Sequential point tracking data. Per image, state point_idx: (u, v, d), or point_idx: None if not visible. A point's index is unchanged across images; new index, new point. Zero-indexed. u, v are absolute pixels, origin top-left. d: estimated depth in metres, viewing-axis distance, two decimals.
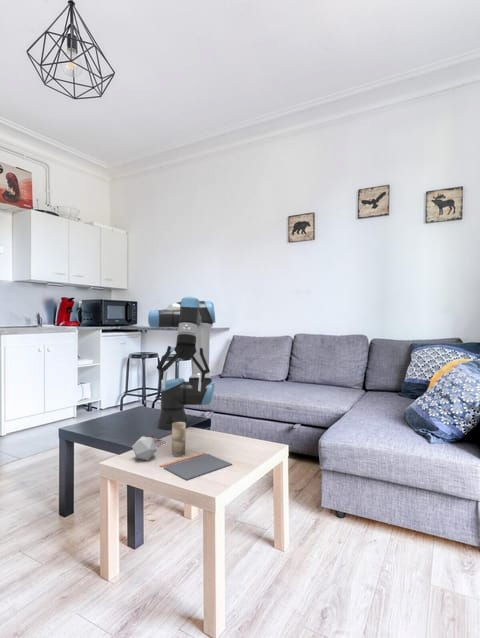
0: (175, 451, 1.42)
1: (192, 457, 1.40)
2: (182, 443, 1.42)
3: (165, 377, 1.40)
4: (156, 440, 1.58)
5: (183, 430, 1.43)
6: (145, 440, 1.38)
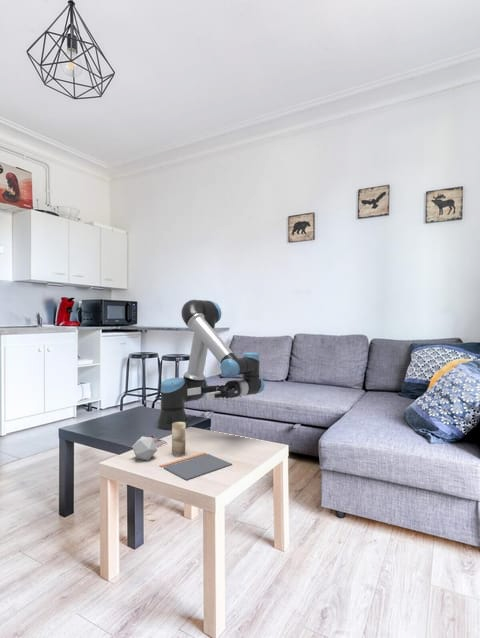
0: (175, 451, 1.42)
1: (192, 457, 1.40)
2: (182, 443, 1.42)
3: None
4: (156, 440, 1.58)
5: (183, 430, 1.43)
6: (145, 440, 1.38)
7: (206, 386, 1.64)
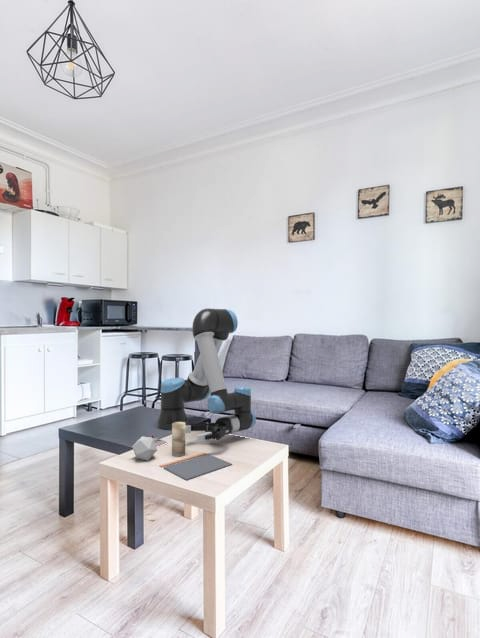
0: (175, 451, 1.42)
1: (192, 457, 1.40)
2: (182, 443, 1.43)
3: None
4: (156, 440, 1.58)
5: (183, 430, 1.43)
6: (145, 440, 1.38)
7: (196, 423, 1.59)
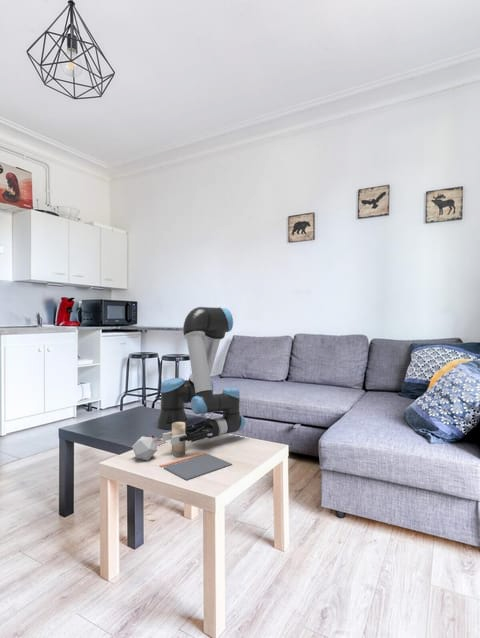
0: (175, 451, 1.42)
1: (192, 457, 1.40)
2: (181, 443, 1.42)
3: None
4: (156, 440, 1.58)
5: (183, 430, 1.43)
6: (145, 440, 1.38)
7: None
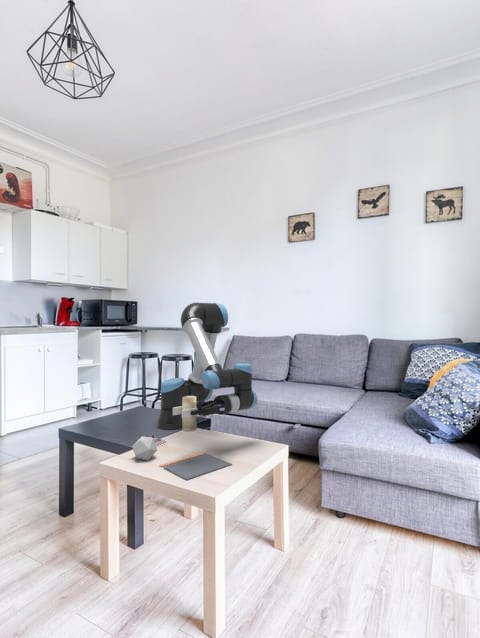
0: (186, 426, 1.35)
1: (192, 457, 1.40)
2: (193, 418, 1.35)
3: None
4: (156, 439, 1.59)
5: (194, 404, 1.36)
6: (145, 440, 1.38)
7: None
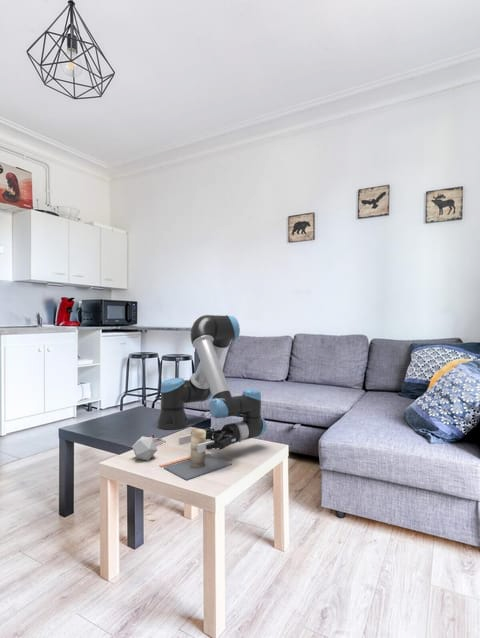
0: (194, 462, 1.30)
1: None
2: (201, 453, 1.30)
3: None
4: (156, 439, 1.59)
5: (203, 439, 1.31)
6: (145, 440, 1.38)
7: None
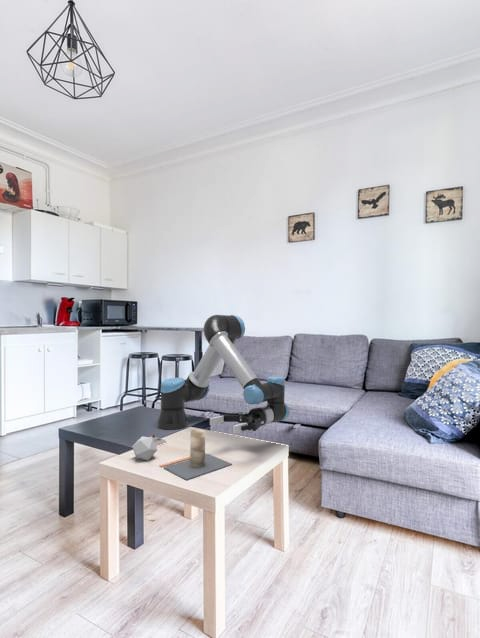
0: (194, 462, 1.30)
1: None
2: (201, 453, 1.30)
3: None
4: (156, 439, 1.59)
5: (203, 439, 1.31)
6: (145, 440, 1.38)
7: (228, 414, 1.52)
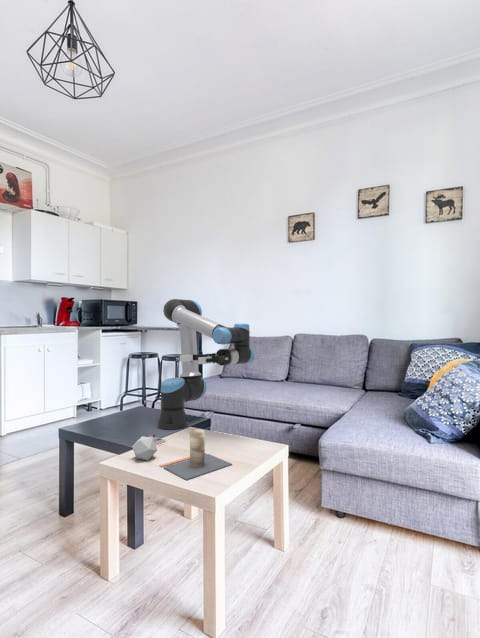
0: (194, 462, 1.30)
1: None
2: (201, 453, 1.30)
3: None
4: (156, 439, 1.60)
5: (202, 439, 1.31)
6: (145, 440, 1.38)
7: (198, 354, 1.70)
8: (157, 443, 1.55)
